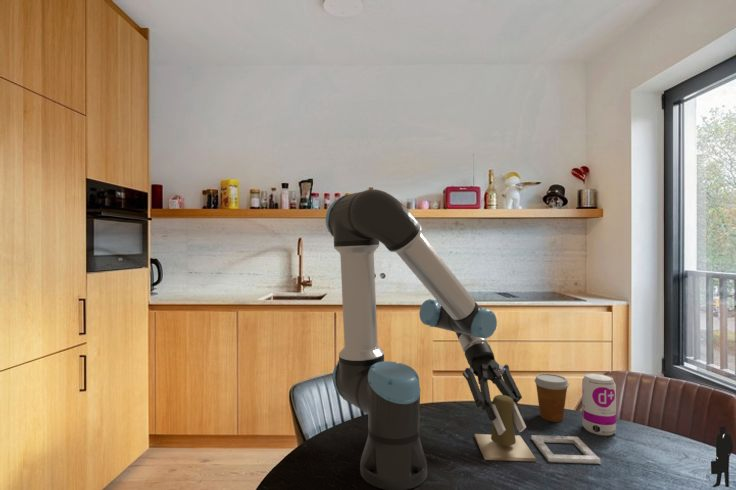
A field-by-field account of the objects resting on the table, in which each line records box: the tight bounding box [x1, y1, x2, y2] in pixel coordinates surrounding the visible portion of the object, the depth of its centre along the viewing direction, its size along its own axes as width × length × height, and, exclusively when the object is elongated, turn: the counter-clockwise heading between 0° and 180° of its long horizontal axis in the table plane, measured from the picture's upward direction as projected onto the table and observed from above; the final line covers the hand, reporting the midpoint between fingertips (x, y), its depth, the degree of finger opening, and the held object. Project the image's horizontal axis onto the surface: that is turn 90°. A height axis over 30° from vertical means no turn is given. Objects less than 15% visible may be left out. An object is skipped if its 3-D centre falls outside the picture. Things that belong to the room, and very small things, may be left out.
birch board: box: [474, 433, 537, 462], centre depth 103 cm, size 12×12×1 cm
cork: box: [490, 394, 516, 445], centre depth 103 cm, size 6×6×11 cm
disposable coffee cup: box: [534, 373, 570, 423], centre depth 123 cm, size 10×10×12 cm
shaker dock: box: [530, 434, 601, 465], centre depth 102 cm, size 12×12×1 cm
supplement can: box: [581, 372, 617, 437], centre depth 114 cm, size 8×8×15 cm
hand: (512, 430), depth 100 cm, fingers closed on cork, 5 cm apart
